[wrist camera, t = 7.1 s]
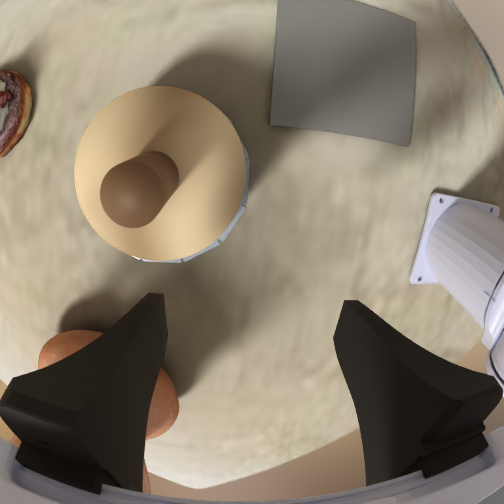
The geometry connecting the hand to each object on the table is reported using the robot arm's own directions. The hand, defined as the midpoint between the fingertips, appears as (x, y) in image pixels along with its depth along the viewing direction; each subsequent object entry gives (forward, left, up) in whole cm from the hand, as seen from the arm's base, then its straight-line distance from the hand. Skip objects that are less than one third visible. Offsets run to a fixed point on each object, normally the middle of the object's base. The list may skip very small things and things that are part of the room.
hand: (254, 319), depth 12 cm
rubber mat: (-6, -12, -10) cm, 17 cm away
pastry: (+20, -10, -10) cm, 25 cm away
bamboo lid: (+5, -5, -6) cm, 9 cm away
